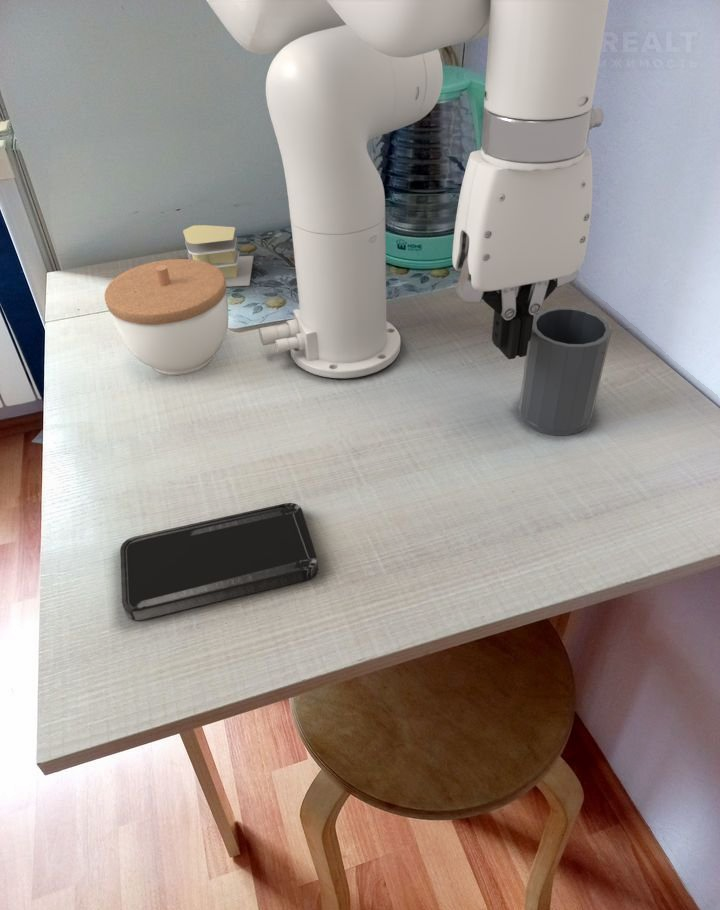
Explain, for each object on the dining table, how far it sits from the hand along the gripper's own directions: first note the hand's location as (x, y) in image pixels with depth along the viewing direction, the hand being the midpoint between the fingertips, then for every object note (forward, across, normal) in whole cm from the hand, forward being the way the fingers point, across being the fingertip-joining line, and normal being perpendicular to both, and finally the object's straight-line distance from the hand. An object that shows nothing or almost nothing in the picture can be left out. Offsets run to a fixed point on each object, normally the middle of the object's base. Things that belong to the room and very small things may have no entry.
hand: (509, 349), depth 63 cm
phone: (+9, +29, +8) cm, 31 cm away
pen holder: (+9, -6, 0) cm, 11 cm away
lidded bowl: (+9, +28, -24) cm, 38 cm away
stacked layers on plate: (+9, +21, -44) cm, 50 cm away
